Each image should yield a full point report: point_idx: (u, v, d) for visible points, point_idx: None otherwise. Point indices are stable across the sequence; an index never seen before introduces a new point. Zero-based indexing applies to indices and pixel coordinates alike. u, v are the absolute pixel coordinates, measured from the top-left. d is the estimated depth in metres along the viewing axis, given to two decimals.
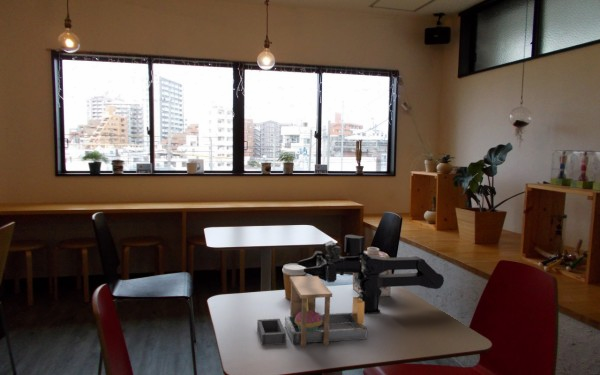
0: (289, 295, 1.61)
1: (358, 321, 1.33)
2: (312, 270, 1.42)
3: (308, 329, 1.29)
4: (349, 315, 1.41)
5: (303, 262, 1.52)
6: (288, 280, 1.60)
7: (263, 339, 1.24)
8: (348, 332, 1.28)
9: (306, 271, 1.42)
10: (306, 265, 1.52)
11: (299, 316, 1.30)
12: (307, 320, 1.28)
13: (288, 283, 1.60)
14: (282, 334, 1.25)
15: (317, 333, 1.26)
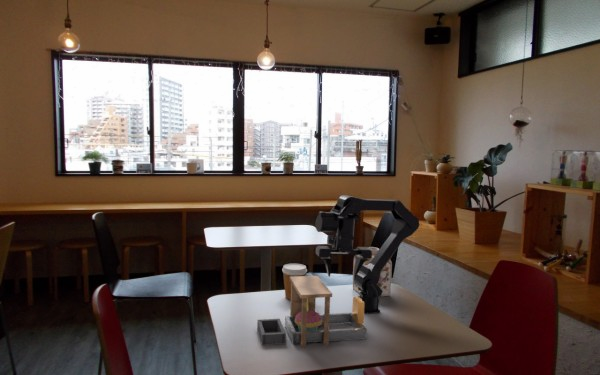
0: (289, 295, 1.61)
1: (358, 321, 1.33)
2: (326, 268, 1.48)
3: (308, 329, 1.29)
4: (349, 315, 1.41)
5: (354, 270, 1.50)
6: (288, 280, 1.60)
7: (263, 339, 1.24)
8: (348, 332, 1.28)
9: (328, 274, 1.48)
10: (356, 268, 1.49)
11: (299, 316, 1.30)
12: (307, 320, 1.28)
13: (288, 283, 1.60)
14: (282, 334, 1.25)
15: (317, 333, 1.26)
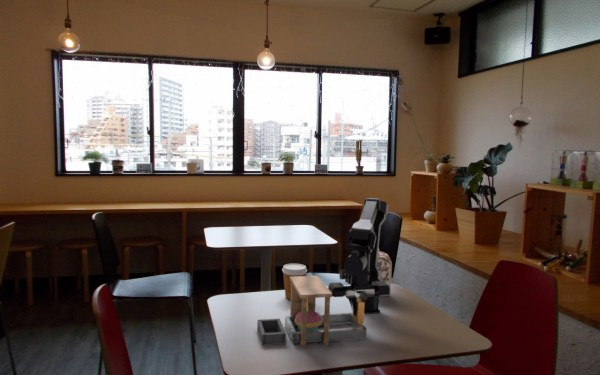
0: (289, 295, 1.61)
1: (358, 321, 1.33)
2: (351, 306, 1.35)
3: (308, 329, 1.29)
4: (349, 315, 1.41)
5: None
6: (288, 280, 1.60)
7: (263, 339, 1.24)
8: (348, 332, 1.28)
9: (353, 313, 1.35)
10: None
11: (299, 316, 1.30)
12: (307, 320, 1.28)
13: (288, 283, 1.60)
14: (282, 334, 1.25)
15: (317, 333, 1.26)
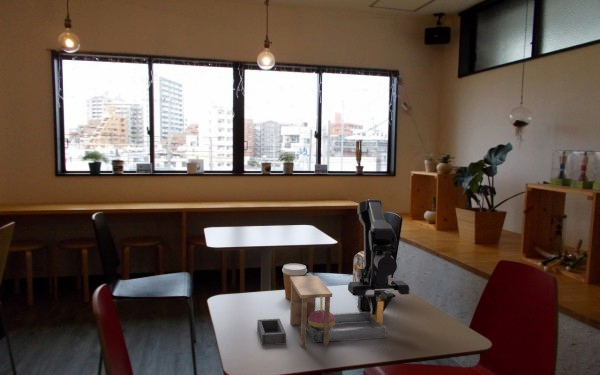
0: (289, 295, 1.61)
1: (377, 320, 1.34)
2: (370, 305, 1.36)
3: (319, 329, 1.30)
4: (367, 314, 1.42)
5: None
6: (288, 280, 1.60)
7: (263, 339, 1.24)
8: (368, 331, 1.30)
9: (372, 312, 1.36)
10: None
11: (312, 315, 1.31)
12: (318, 320, 1.29)
13: (288, 283, 1.60)
14: (282, 334, 1.25)
15: (338, 332, 1.28)
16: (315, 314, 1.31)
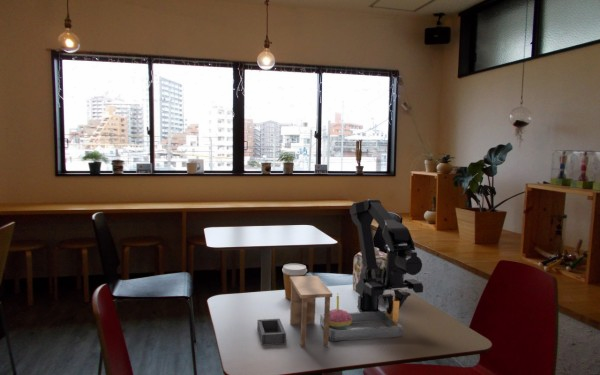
0: (289, 295, 1.61)
1: (393, 319, 1.36)
2: (386, 305, 1.37)
3: (336, 328, 1.31)
4: (382, 313, 1.43)
5: None
6: (288, 280, 1.60)
7: (263, 339, 1.24)
8: (384, 330, 1.31)
9: (387, 311, 1.37)
10: None
11: None
12: (335, 319, 1.30)
13: (288, 283, 1.60)
14: (282, 334, 1.25)
15: (355, 331, 1.29)
16: (332, 313, 1.32)
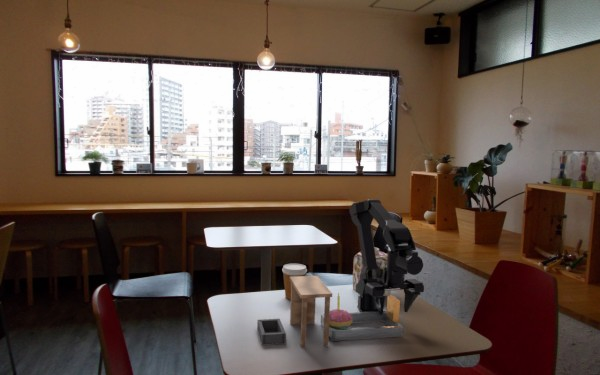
0: (289, 295, 1.61)
1: (394, 319, 1.36)
2: (378, 306, 1.36)
3: (337, 328, 1.31)
4: (383, 313, 1.43)
5: (405, 305, 1.40)
6: (288, 280, 1.60)
7: (263, 339, 1.24)
8: (385, 330, 1.31)
9: (380, 312, 1.36)
10: (407, 303, 1.39)
11: (329, 314, 1.33)
12: (336, 319, 1.30)
13: (288, 283, 1.60)
14: (282, 334, 1.25)
15: (355, 331, 1.29)
16: (333, 313, 1.32)
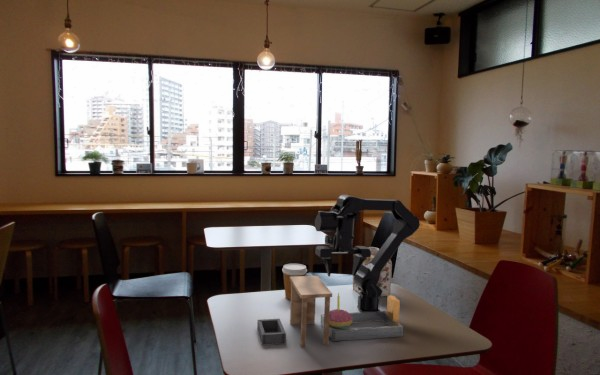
0: (289, 295, 1.61)
1: (394, 319, 1.36)
2: (326, 268, 1.47)
3: (337, 328, 1.31)
4: (383, 313, 1.43)
5: (353, 270, 1.51)
6: (288, 280, 1.60)
7: (263, 339, 1.24)
8: (385, 330, 1.31)
9: (328, 274, 1.47)
10: (355, 267, 1.49)
11: (329, 314, 1.33)
12: (336, 319, 1.30)
13: (288, 283, 1.60)
14: (282, 334, 1.25)
15: (355, 331, 1.29)
16: (333, 313, 1.32)
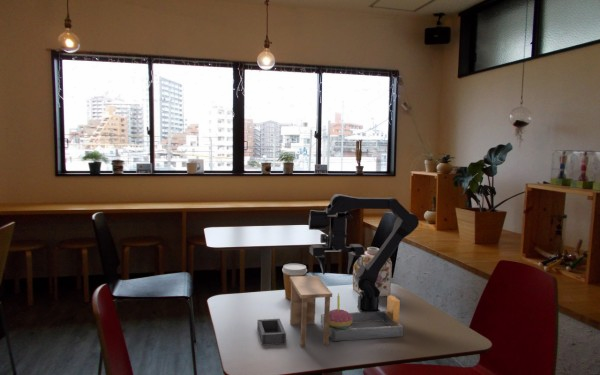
0: (289, 295, 1.61)
1: (394, 319, 1.36)
2: (321, 266, 1.51)
3: (337, 328, 1.31)
4: (383, 313, 1.43)
5: (348, 267, 1.53)
6: (288, 280, 1.60)
7: (263, 339, 1.24)
8: (385, 330, 1.31)
9: (322, 272, 1.51)
10: (349, 265, 1.52)
11: (329, 314, 1.33)
12: (336, 319, 1.30)
13: (288, 283, 1.60)
14: (282, 334, 1.25)
15: (355, 331, 1.29)
16: (333, 313, 1.32)
